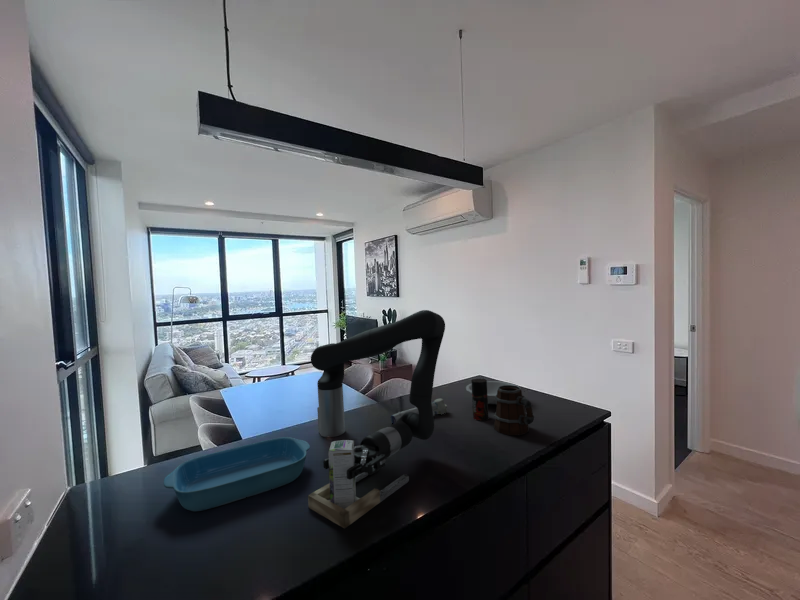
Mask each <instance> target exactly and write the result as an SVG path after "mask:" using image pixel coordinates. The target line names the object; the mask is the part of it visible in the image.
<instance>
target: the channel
mask: <svg viewBox="0 0 800 600" xmlns="http://www.w3.org/2000/svg"><path fill="white" fill-rule="evenodd" d="M372 468H373V466H372ZM367 476H369V475H368V473H365V474H359V475H357V476H356V477H355V484H357V483H358V482H360V481H362V480H363V479H364V478H366V477H367ZM408 482H410V476H409V475H408V474H405V473H404V474H403V475H401V476H400V477H398V478H397V479H395V480H393V481H392V482H391V483H390V484H388V485H386V486H385V487H384V488H382V489H381V490H380V503H381V502H383V501H384V500H386V499H387V498H388V497H389V496H391V495H392V494H393V493H395V492H396V491H398V490H400V489H401V488H402V487H403V486H404V485H406V484H407V483H408Z"/></svg>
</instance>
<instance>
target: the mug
mask: <svg viewBox="0 0 800 600" xmlns="http://www.w3.org/2000/svg"><path fill="white" fill-rule="evenodd" d="M520 388H521V386H519V387H517V386H513V385H503V386H500V387H499V388H498V390H497V394H496V396H495V400H497V404H496V411H495V413H494V414H493V418H494V419H495V421H494V423H493V428H494V430H496V431H497V432H498V433H499V434H503V435H507V436H521V435H525V434H527V433H529V425H531V424H532V423H533V422H534V420H535V415H534V414H533V413H534V412H533V405H532V402H531V401H530V400H529V399H528V398H527V397H525V395H523V392H522V388H521V389H520Z"/></svg>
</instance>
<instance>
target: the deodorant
mask: <svg viewBox="0 0 800 600" xmlns="http://www.w3.org/2000/svg"><path fill="white" fill-rule="evenodd" d="M487 381H488V380H487V379H486V378H472V379H471V382H470V383H472V395H471V398H472V416H473V417H472V418H473V419H474V420H475V419H476V420H475V421H478V420H480V422H482V421H484V420H485V421H488V420H489V419H490V418H489V404H488V396H487ZM488 418H489V419H488ZM487 419H488V420H487Z"/></svg>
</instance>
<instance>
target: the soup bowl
mask: <svg viewBox="0 0 800 600" xmlns="http://www.w3.org/2000/svg"><path fill="white" fill-rule="evenodd" d="M503 385H513V386H517V387H520V386H519V385H518V384H516V383H511V382H507V381H499V380H487V396H488V405H497V400H495V396H496V394H497V390H498V388H499V387H500V386H503ZM465 389H466V391H467V392H468V393H470V395H471V396H472V382H470V383H469V384H467V385H466V386H465ZM520 389H521V390H522V388H521V387H520Z"/></svg>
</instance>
